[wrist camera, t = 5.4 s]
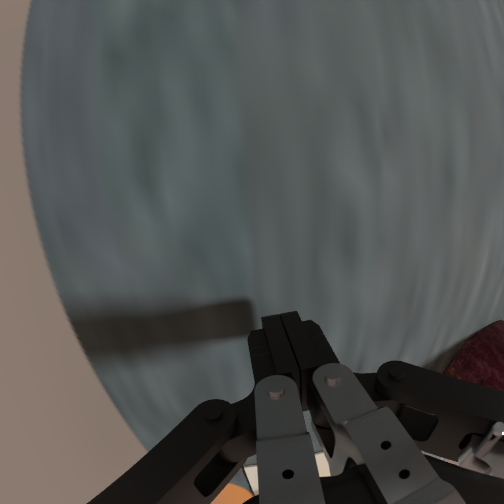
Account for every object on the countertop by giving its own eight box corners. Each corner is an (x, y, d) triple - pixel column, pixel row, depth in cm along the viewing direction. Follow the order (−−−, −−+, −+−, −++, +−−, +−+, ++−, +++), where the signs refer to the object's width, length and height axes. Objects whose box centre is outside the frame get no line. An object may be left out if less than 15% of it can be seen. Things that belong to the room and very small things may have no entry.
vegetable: (412, 351, 20) (492, 483, 6) (498, 292, 18) (607, 362, 3) (430, 419, 21) (476, 524, 7) (504, 368, 19) (572, 445, 4)
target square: (243, 465, 18) (244, 467, 18) (381, 432, 19) (381, 433, 19) (258, 504, 22) (258, 505, 22) (359, 480, 23) (359, 481, 23)
